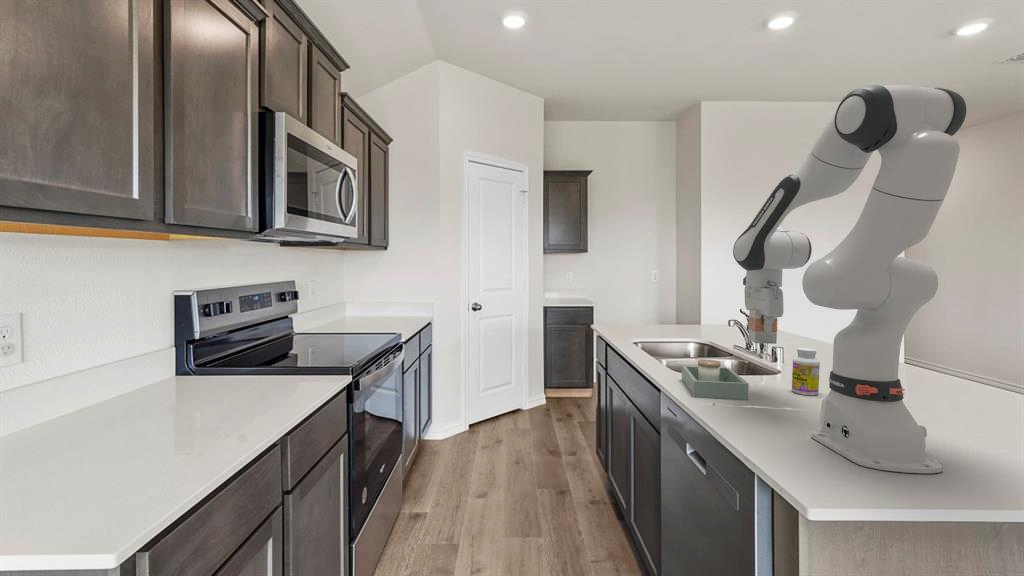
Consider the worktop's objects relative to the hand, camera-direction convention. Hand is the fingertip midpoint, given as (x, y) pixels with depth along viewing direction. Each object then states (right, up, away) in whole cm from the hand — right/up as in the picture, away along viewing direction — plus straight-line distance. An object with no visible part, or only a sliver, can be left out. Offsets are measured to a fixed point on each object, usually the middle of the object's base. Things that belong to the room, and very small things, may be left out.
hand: (762, 330), depth 132 cm
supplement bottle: (+15, -19, +5) cm, 25 cm away
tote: (-11, -19, +7) cm, 23 cm away
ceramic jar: (-10, -18, +12) cm, 24 cm away
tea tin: (0, -3, 0) cm, 3 cm away
